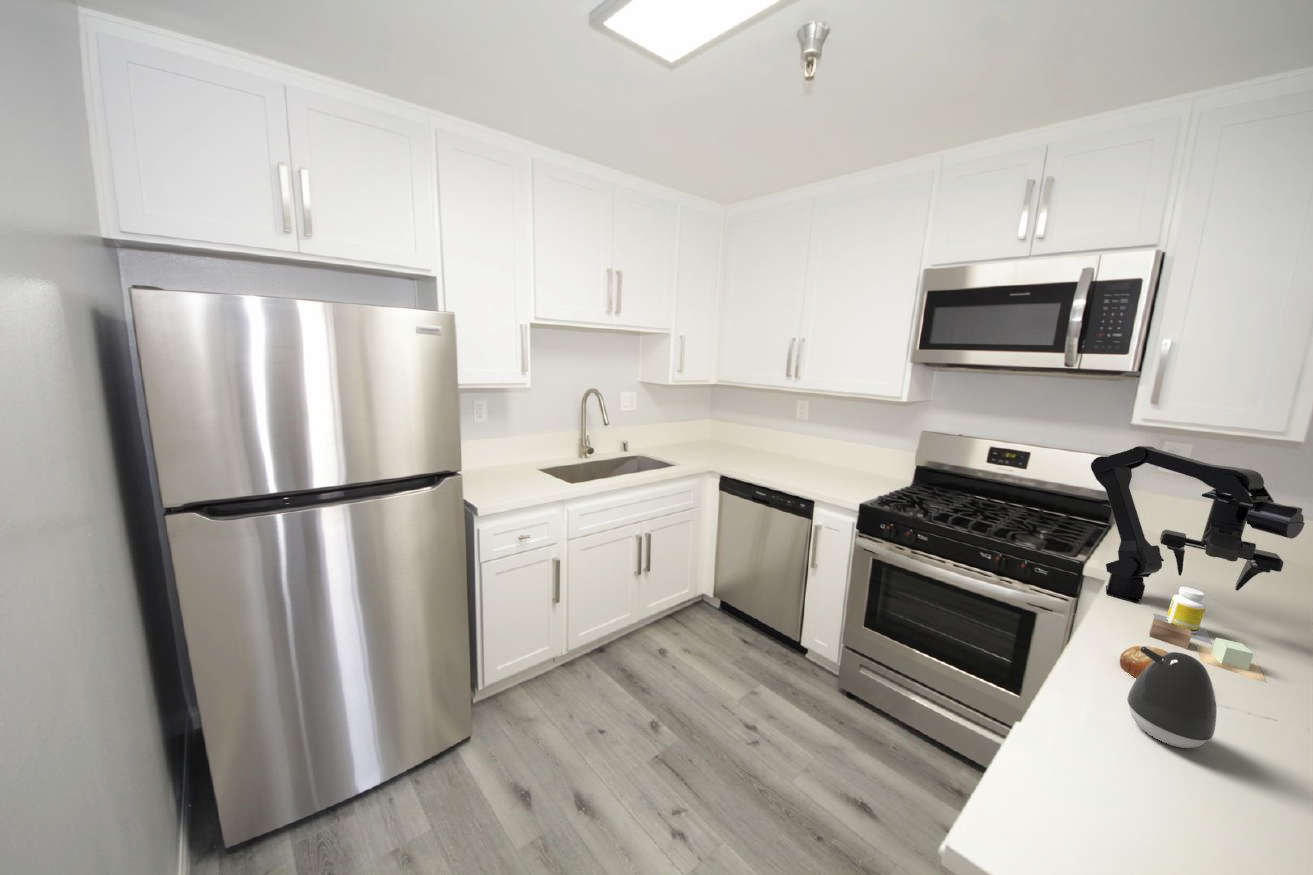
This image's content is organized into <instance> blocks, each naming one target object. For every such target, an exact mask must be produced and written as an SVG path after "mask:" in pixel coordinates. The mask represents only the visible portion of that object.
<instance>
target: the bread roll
mask: <svg viewBox="0 0 1313 875" xmlns="http://www.w3.org/2000/svg"><path fill="white" fill-rule="evenodd" d="M1141 647H1146V648H1148V649H1150V650H1151V651H1153V652H1155V653H1157V654H1159V655H1160V656H1162V655H1165V654H1167V653H1170V652H1168V651H1167V650H1164V649H1161V648H1158V647H1153V646H1147V645H1146V646H1145V645H1136V646H1135V645H1134V646H1131V647H1129V648H1126V649H1125V650H1124V651H1123V652H1122V653H1121V654H1120V656H1119V666H1120V668H1121V670H1122V669H1123V670H1124V672H1125V673H1126V672H1127V673H1129V674H1130V675H1131V676H1133V677H1134V678H1136V679H1137V678H1138V676H1139V675H1140V674H1141V672H1142V671H1143V670H1144V669H1145V668H1146V667H1147V666H1148V665H1149V664H1150V663H1152V662H1153V660H1152V659H1151V658H1149V657H1148V656H1146V655H1145V654H1144V653H1142V652H1141V651H1140V648H1141ZM1127 673H1126V674H1127ZM1129 674H1128V675H1129ZM1130 675H1129V676H1130ZM1131 676H1130V677H1131ZM1133 677H1132V678H1133ZM1134 678H1133V679H1134Z"/></svg>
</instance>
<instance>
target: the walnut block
mask: <svg viewBox="0 0 1313 875" xmlns="http://www.w3.org/2000/svg"><path fill="white" fill-rule="evenodd" d="M1149 638H1152V639H1154V640H1157V641H1161V642H1164V643H1167V644H1168V645H1169V644H1170V645H1173V646H1176V647H1179V648H1182V649H1185V650H1188V648H1189V645H1190V641H1191V639H1192V638H1191V630H1190V629H1186V628H1183V627H1180V626H1177V625H1174V624H1171V623H1168V622H1165V621H1161V620H1158V619H1155V618H1154V617H1153V619H1152V622H1151V627H1150V629H1149Z"/></svg>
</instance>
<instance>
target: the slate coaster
mask: <svg viewBox="0 0 1313 875" xmlns="http://www.w3.org/2000/svg"><path fill="white" fill-rule="evenodd" d="M1152 615H1153V619H1154V618H1155V619H1158V620H1161V621H1166V617H1167V616H1164V615H1161V614H1157V613H1152ZM1191 639H1193V640H1197V641H1200V642H1204V643H1207V644H1210V645H1213V643H1212V640H1211V638H1210V636H1209V634H1208V631H1207V629H1206V628H1205V627H1202V626H1199V629H1198V632H1197V633H1191Z"/></svg>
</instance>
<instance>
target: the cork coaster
mask: <svg viewBox="0 0 1313 875" xmlns="http://www.w3.org/2000/svg"><path fill="white" fill-rule="evenodd" d="M1194 645H1195V648H1196V650H1197V653H1198V656H1199V660H1200V661H1201V662H1200V663H1203V664H1207V665H1211V666H1214V667H1217V668H1220V669H1224V670H1226V671H1230V672H1233V673H1235V674H1239V675H1241V676H1245V677H1248V678H1251V679H1254V680H1257V681H1261V682H1262V683H1268V682H1267V680H1266V678H1265V676H1264V674H1263V672H1262V671H1261V669H1260V667H1259V665H1258V664H1257V662H1255V661H1253V660H1251V663H1250V666H1249V669H1248V670H1243V669H1239V668H1235V667H1231V666H1227V665H1223V664H1221V663H1220V662H1219V661H1218V660H1217V659H1216V658H1215V657H1214V656H1213V655H1212V654H1211V652H1212V649H1213V648H1210V647H1207V646H1204V645H1202V644H1201V645H1200V644H1197V643H1194Z"/></svg>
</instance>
